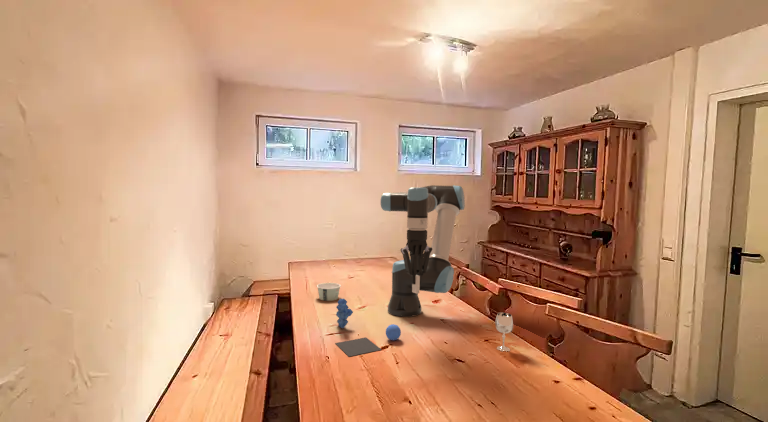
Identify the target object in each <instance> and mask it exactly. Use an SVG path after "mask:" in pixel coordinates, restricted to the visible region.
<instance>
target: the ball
mask: <svg viewBox="0 0 768 422" xmlns="http://www.w3.org/2000/svg"><path fill="white" fill-rule="evenodd" d="M401 334H402V331H401V328H400V326H398V325H397V324H395V323H394V324H392V323H391V324H389V325H388V326H387V327H386V329H385V336H386V337H387V338H388V340H390V341H397V340H398V339H399V338H400V337H401Z"/></svg>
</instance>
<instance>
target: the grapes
mask: <svg viewBox="0 0 768 422" xmlns="http://www.w3.org/2000/svg"><path fill="white" fill-rule="evenodd" d="M336 310H337V311H336V314H335V316H336V317H337V318H338V319H337V321H336V323H337V324H338V327H340V328H341V329H344V328H345V327H346V326H347V325H348V324H349V321H348V318H349V317H351V316H352V315H353V312H354V311H353V310H352V309H351V308H349V306H348V301H347V300H346V299H345V298H339V300H338V301H337V305H336Z"/></svg>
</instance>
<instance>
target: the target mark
mask: <svg viewBox="0 0 768 422" xmlns="http://www.w3.org/2000/svg"><path fill="white" fill-rule="evenodd" d="M334 344H335V345H336V346H337V347H338V348H339V349H340V350H341V351H342V352H343V353H344V354H345V355H346V356H347V357H348V358H350V357H355V356H359V355H360V356H361V355H365V354H369V353H374V352H378V351H382V348H380V347H379V346H378V345H377V344H375V343H374V342H373V341H371V340H370V339H369V338H368V337H360V338H355V339H349V340H344V341H339V342H335V343H334Z"/></svg>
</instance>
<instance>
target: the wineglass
mask: <svg viewBox="0 0 768 422" xmlns="http://www.w3.org/2000/svg"><path fill="white" fill-rule="evenodd" d="M513 327H514V321H513V315H512V314H510V313H509V312H508V313H507V312H498V313H497V315H496V317H495V329H496V331H498V332H499V333H501V334H502V335H501V337H502V345H498V346H497V347H496V350H498V351H499V350H500V352H503V351H506V352H507V351H508V352H510V351H511V349H510V348H509V347H508V346H506V345H505V338H506V334H509V333H511V332H512V331H513ZM506 352H505V353H506Z"/></svg>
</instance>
